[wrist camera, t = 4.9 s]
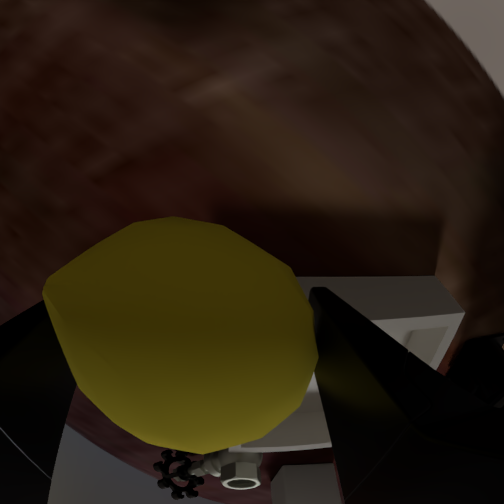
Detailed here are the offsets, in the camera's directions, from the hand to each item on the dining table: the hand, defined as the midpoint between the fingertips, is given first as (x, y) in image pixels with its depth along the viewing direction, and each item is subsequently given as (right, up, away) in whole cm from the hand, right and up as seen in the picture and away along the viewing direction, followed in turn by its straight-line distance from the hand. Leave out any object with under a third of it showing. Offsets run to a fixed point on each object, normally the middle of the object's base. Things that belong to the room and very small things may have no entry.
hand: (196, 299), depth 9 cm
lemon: (0, +1, +1) cm, 1 cm away
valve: (-3, -19, +21) cm, 28 cm away
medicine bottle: (+8, -29, +27) cm, 41 cm away
